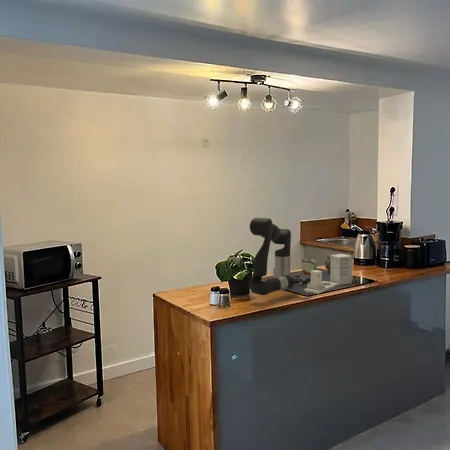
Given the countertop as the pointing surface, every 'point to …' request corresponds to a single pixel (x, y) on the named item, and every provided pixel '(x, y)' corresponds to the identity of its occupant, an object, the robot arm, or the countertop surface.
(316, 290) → the pale grey tray
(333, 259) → the supplement box
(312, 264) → the food container
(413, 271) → the countertop surface
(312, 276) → the charger
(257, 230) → the robot arm
